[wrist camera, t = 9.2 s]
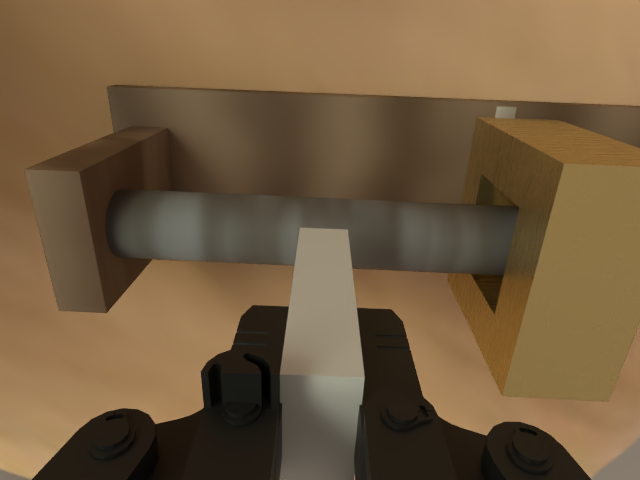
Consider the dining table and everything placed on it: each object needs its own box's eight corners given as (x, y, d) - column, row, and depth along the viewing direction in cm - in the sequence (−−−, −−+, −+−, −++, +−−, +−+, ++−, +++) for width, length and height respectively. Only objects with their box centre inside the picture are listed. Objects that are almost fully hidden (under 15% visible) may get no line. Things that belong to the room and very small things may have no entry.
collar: (447, 279, 25) (502, 396, 17) (476, 117, 21) (564, 163, 13) (518, 283, 25) (608, 401, 17) (559, 120, 21) (700, 169, 13)
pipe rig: (139, 249, 28) (45, 348, 19) (115, 84, 24) (-20, 110, 15) (612, 271, 28) (747, 384, 19) (669, 107, 24) (879, 148, 14)
